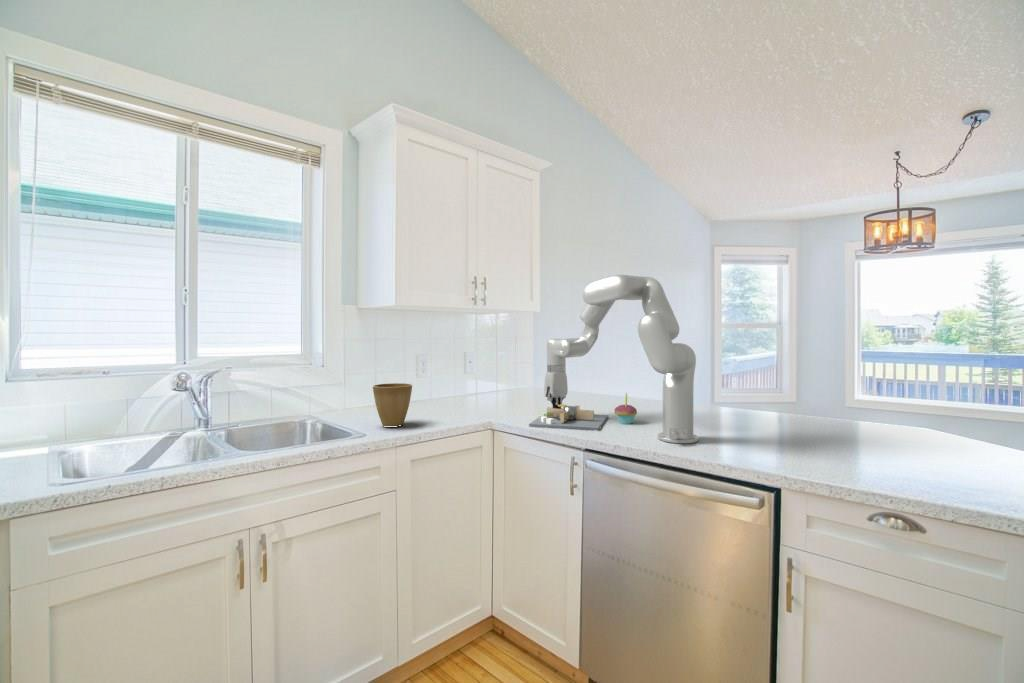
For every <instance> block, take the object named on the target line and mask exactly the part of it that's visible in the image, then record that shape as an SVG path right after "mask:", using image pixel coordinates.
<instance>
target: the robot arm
mask: <svg viewBox="0 0 1024 683" xmlns="http://www.w3.org/2000/svg"><path fill="white" fill-rule="evenodd" d="M582 299H583V302H585V305H584V306H583V308H582V309H581V311H580V312H579V318H580V320H581V321H582V323H584V328H583V329H582V332H581V333H580V335H579V336H578V337H571V338H549V339H547V341H546V373H545V377H544V387H543V389H544V391H543V392H544V394H543V395H544V397H545V398H546V401H548V402H550V403H551V405H552V408H562V407H559V406H558V404H562V405H563V400H565V399H566V398H567V395H568V390H569V389H568V377H567V373H566V372H567V370H566V359H569V358H579V357H584V356H585V355H587V354H588V353H589V352H590V351H591V349H592V348H593V347H594V345H595V343H596V342H597V340H598V337H599V334H600V333H599V331H600V325H601V323H602V322H603V320H604V319H605V317H606V316H607V314H608V313H609V311H610V309H612V307H613V305H614V304H615V302H616V301H619V300H621V301H639V300H641V306H642V310H643V312H644V314H645V315H643V316H642V317H641V318H640V319H639V322H638V325H637V333H638V337H639V339H640V342H641V344H642V348H643V350H644V353H645V356H646V357H647V361H648V362H649V364H650V366H651V367H652V369H653V370H654V371H655V372H656V373H659V374H660V375H661V374H662V375H663V379H662V432H659V433H658V435H657V439H659V440H660V441H663V442H666V443H673V444H694V443H697V442H699V435H696V434H695V433H694V387H695V386H694V385H695V384H694V381H695V380H694V379H695V378H694V377H695V370H696V365H697V358H696V353H695V351H694V349H693V348H692V347H691V346H689V345H688V344H686V343H682V342H675V343H673V340H675V339H676V338H678V336H679V334H680V325H679V322H678V320H677V318H676V315H675V313H674V310H673V309H672V306H671V304H670V302H669V300H668V298H667V295H666V292H665V290H664V289H663V285H662V284H661V283H660V282H659V281H658V280H657V279H655V278H653V277H650V276H639V275H629V274H616V275H612V276H607V277H605V278H601V279H600V278H599V279H597V280H594V281H591V282H589V283H588V284H586V285H585V287H584V289H583V290H582Z"/></svg>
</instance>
